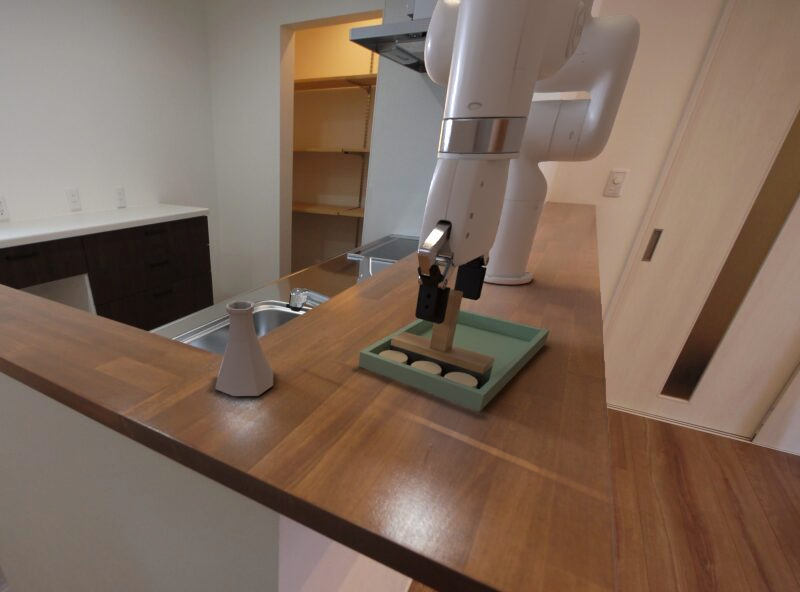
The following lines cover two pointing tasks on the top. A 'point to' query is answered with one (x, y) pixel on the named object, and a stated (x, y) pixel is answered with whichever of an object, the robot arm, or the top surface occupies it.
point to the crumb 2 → (428, 367)
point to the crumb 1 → (395, 356)
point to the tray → (472, 333)
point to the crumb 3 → (462, 378)
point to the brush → (445, 347)
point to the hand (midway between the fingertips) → (448, 308)
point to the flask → (243, 355)
